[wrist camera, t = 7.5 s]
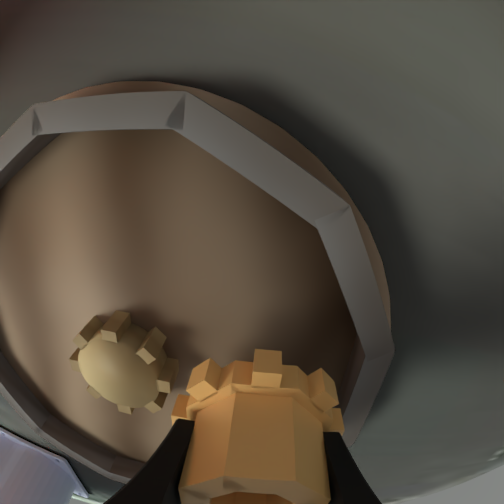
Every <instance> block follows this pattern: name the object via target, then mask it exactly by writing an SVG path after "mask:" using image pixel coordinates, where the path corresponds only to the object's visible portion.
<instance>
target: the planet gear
mask: <svg viewBox="0 0 504 504" xmlns="http://www.w3.org/2000/svg"><path fill="white" fill-rule="evenodd" d="M186 391H187V392H188V393H189V394H190V396H188V395H182V394H178V396H177V399H176V402H175V405H174V408H173V411H172V414H171V419H172V426H173V424H174V423H175V421H176V419H179V418H180V419H186V420H192V421H195V425H194V428H193V432H192V436H191V440H190V443H189V447H188V451H187V455H186V459H185V463H184V467H183V471H182V475H181V479H180V483H179V487H178V489H179V494H180V499H181V504H328V503H329V501H330V500H331V496H330V487H329V478H328V469H327V460H326V454H325V446H324V438H323V432H339V433H340V434H341V436H342V435H343V433H344V431H345V429H344V424H343V419H342V414H341V409H340V408H332V407H334V406H336V405H338V404H339V401H338V396H337V391H336V387H335V382H334V380H333V379H332V378H331V377H330V376H329V375H328V374H327V373H326V372H325V371H324V370H323V369H322V368H320V369H318V370H316V371H315V372H313V373H311V374H310V375H308V376H307V375H306V374H305V373H304V372H303V371H302V370H301V369H300V368H299V367H298V366H292V365H282V351H274V350H263V349H255V352H254V361H253V362H247V361H237V360H235V361H233V362H232V363H230V364H228V365H227V366H225V367H223V368H221V367H220V366H219V365H218V364H217V363H216V362H215V361H214V360H212V359H211V358H209V359H207V360H206V361H204V362H203V363H201V364H199V365H198V366H196V367H195V368H193V370H192V373H191V376H190V379H189V382H188V385H187V388H186Z"/></svg>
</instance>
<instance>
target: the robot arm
mask: <svg viewBox="0 0 504 504" xmlns="http://www.w3.org/2000/svg"><path fill="white" fill-rule="evenodd" d="M194 425H195V421H192V420H186V419H180V418H179V419H176V421H175V423H174V424H173V426H172V428H171V429H170V431H169V433H168V434H167V436H166V437H165V439H164V440H163V441H162V443H161V444H160V446H159V447H158V448H157V450H156V451H155V452H154V453H153V455H152V456H151V457H150V458H149V460H148V461H147V462H146V463H145V465H144V466H143V467H142V468H141V469H140V470H139V471H138V472H137V473H136V474H135V475H134V477H133V478H132V479H131V480H130V481H129V482H128V483H127V484H126V485H125V486H124V487H122V488H121V489H120V490H119V491H118V492H117V493H116V494H115V495H113V496H112V497H111V498H110V499H108V500H107V501H106V502H105V503H103V504H181V499H180V494H179V489H178V487H179V483H180V479H181V475H182V471H183V467H184V463H185V459H186V455H187V451H188V447H189V443H190V440H191V436H192V432H193V428H194ZM323 438H324V446H325V454H326V460H327V469H328V478H329V487H330V496H331V500H330V501H329V503H328V504H382V503H381V502H380V501H379V499H378V498H377V496H376V495H375V494H374V492H373V491H372V489H371V488H370V486H369V485H368V483H367V482H366V480H365V479H364V477H363V475H362V474H361V472H360V470H359V469H358V467H357V465H356V463H355V462H354V460H353V458H352V456H351V454H350V452H349V450H348V448H347V446H346V444H345V442H344V440H343V438H342V436H341V434H340V433H339V432H323ZM73 493H75V494H78V495H80V496H83V497H85V498H88V497H89V494H88V493H87V491H86V490H85V488H84V487H83V485H82V484H81V482H80V480H79V479H78V477H77V476H76V474H75V473H74V471H73V469H72V468H71V466H70V464H69V463H68V461H67V460H66V459H65V458H63V457H61V456H59V455H56V454H54V453H52V452H49V451H47V450H45V449H43V448H40V447H38V446H36V445H34V444H32V443H30V442H28V441H26V440H24V439H22V438H20V437H18V436H16V435H14V434H12V433H10V432H8V431H6V430H5V429H3V428H1V427H0V504H68V503H69V501H70V499H71V497H72V494H73Z"/></svg>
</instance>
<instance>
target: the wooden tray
mask: <svg viewBox="0 0 504 504" xmlns="http://www.w3.org/2000/svg"><path fill="white" fill-rule="evenodd" d="M255 349H263V350H274V351H282V365H292V366H298V367H299V368H300V369H301V370H302V371H303V372H304V373H305V374H306V375H307V376H308V375H310V374H311V373H313V372H315V371H316V370H318V369H320V368H322V369H323V370H324V371H325V372H326V373H327V374H328V375H329V376H330V377H331V378H332V379H333V380H334V382H335V387H336V391H337V396H338V401H339V404H338V405H336V406H334V407H332V408H340V409H341V414H342V419H343V424H344V429H345V431H344V433H343V435H342V438H343V440H344V442H345V444H346V446H347V448H348V447H350V446H351V445H353V444H354V443H355V441H356V439H357V437H358V435H359V433H360V431H361V429H362V427H363V425H364V423H365V421H366V419H367V416H368V414H369V412H370V410H371V408H372V406H373V403H374V401H375V399H376V397H377V394H378V392H379V390H380V388H381V385H382V383H383V380H384V378H385V376H386V373H387V371H388V368H389V366H390V363H391V361H392V358H393V355H394V353H395V346H394V342H393V338H392V334H391V313H390V295H389V290H388V285H387V280H386V276H385V271H384V267H383V262H382V260H381V257H380V254H379V252H378V249H377V247H376V244H375V242H374V239H373V237H372V235H371V232H370V230H369V227H368V225H367V224H366V222H365V220H364V219H363V217H362V215H361V214H360V212H359V211H358V209H357V207H356V206H355V204H354V202H353V201H352V199H351V198H350V196H349V194H348V193H347V191H346V190H345V189H344V188H343V186H342V185H341V184H340V183H339V182H338V181H337V179H336V178H335V177H334V176H333V175H332V174H331V172H330V171H329V170H328V169H327V168H326V167H325V166H324V165H323V163H322V162H321V161H320V160H319V159H318V158H317V157H316V156H315V155H314V154H313V153H311V152H310V151H309V150H308V149H307V148H305V147H304V146H303V145H302V144H301V143H299V142H298V141H297V140H296V139H295V138H293V137H292V136H291V135H290V134H289V133H287V132H286V131H285V130H284V129H282V128H281V127H279V126H278V125H276V124H274V123H273V122H271V121H269V120H267V119H266V118H264V117H262V116H261V115H259V114H257V113H255V112H254V111H252V110H250V109H248V108H247V107H245V106H243V105H241V104H238V103H236V102H233V101H231V100H228V99H226V98H223V97H220V96H218V95H215V94H212V93H210V92H207V91H204V90H201V89H197V88H192V87H187V86H182V85H176V84H171V83H165V82H158V81H120V82H113V83H107V84H102V85H96V86H91V87H86V88H83V89H81V90H78V91H75V92H72V93H70V94H67V95H65V96H62V97H60V98H57V99H55V100H53V101H50V102H44V103H38V104H33V105H32V106H31V107H30V108H29V109H28V110H27V111H26V112H25V113H24V114H23V115H22V116H21V117H20V118H19V119H18V120H17V121H16V122H15V123H14V124H13V125H12V126H11V127H10V128H9V129H8V130H7V131H6V132H5V133H4V134H3V136H2V137H1V138H0V393H1V394H2V395H3V397H4V398H5V399H6V400H7V402H8V403H9V404H10V405H11V406H12V407H13V409H14V410H15V411H16V412H17V413H18V414H19V416H20V417H21V418H22V419H23V420H24V421H25V422H26V423H27V424H28V426H29V427H30V428H31V429H32V430H33V431H34V432H35V433H36V434H38V435H39V436H41V437H42V438H43V439H45V440H46V441H48V442H49V443H51V444H52V445H53V446H55V447H56V448H58V449H59V450H61V451H62V452H64V453H66V454H67V455H69V456H70V457H72V458H73V459H75V460H77V461H78V462H80V463H82V464H83V465H85V466H87V467H88V468H90V469H92V470H94V471H95V472H97V473H99V474H101V475H103V476H105V477H106V478H108V479H111V480H114V481H117V482H121V483H124V484H127V483H128V482H129V481H130V480H131V479H132V478H133V477H134V475H135V474H136V473H137V472H138V471H139V470H140V469H141V468H142V467H143V466H144V465H145V463H146V462H147V461H148V460H149V458H150V457H151V456H152V455H153V453H154V452H155V451H156V450H157V448H158V447H159V446H160V444H161V443H162V441H163V440H164V439H165V437H166V436H167V434H168V433H169V431H170V429H171V428H172V419H171V414H172V411H173V408H174V405H175V402H176V399H177V396H178V394H182V395H188V396H190V394H189V393H188V392H187V391H186V388H187V385H188V382H189V379H190V376H191V373H192V370H193V368H195V367H196V366H198V365H199V364H201V363H203V362H204V361H206V360H207V359H209V358H211V359H212V360H214V361H215V362H216V363H217V364H218V365H219V366H220V367H221V368H223V367H225V366H227V365H228V364H230V363H232V362H233V361H235V360H237V361H247V362H253V361H254V352H255Z"/></svg>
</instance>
